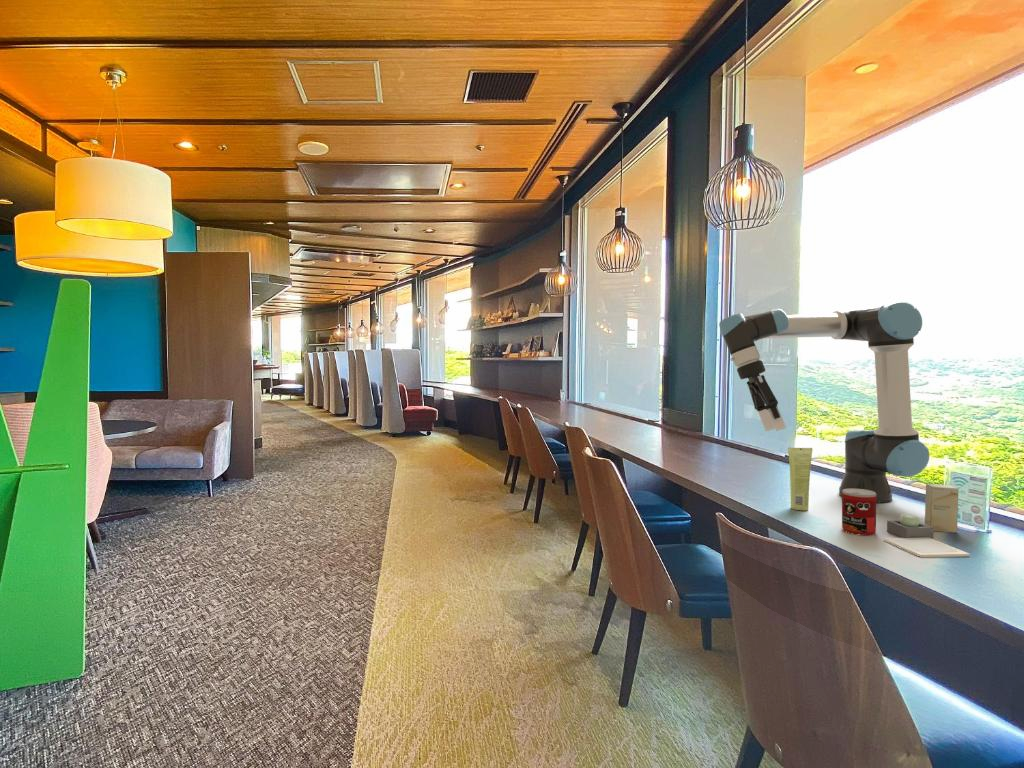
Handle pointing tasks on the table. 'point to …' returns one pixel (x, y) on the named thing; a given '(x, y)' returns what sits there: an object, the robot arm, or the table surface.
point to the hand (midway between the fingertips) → (775, 429)
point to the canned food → (859, 511)
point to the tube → (800, 477)
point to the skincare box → (941, 507)
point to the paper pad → (926, 547)
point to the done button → (909, 520)
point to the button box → (909, 530)
